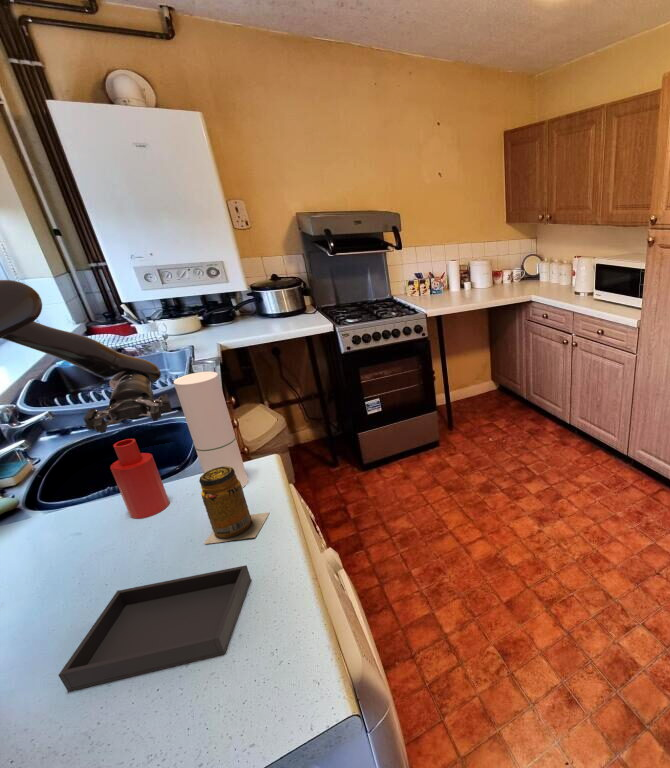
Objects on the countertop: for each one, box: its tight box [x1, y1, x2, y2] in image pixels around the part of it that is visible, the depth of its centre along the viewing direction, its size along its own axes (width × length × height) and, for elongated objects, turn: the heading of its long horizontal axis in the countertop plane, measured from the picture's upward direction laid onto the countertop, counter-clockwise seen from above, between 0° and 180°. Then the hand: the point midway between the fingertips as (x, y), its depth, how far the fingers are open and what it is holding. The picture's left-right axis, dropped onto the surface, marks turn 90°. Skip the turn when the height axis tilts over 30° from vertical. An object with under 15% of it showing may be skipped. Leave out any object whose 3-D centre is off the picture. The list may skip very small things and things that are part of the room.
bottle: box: [109, 438, 170, 520], centre depth 85 cm, size 6×6×15 cm
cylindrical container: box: [173, 371, 249, 489], centre depth 89 cm, size 7×7×25 cm
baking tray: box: [58, 565, 252, 692], centre depth 61 cm, size 17×13×3 cm
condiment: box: [199, 466, 270, 545], centre depth 79 cm, size 7×8×12 cm
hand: (128, 422), depth 90 cm, fingers open, 8 cm apart
